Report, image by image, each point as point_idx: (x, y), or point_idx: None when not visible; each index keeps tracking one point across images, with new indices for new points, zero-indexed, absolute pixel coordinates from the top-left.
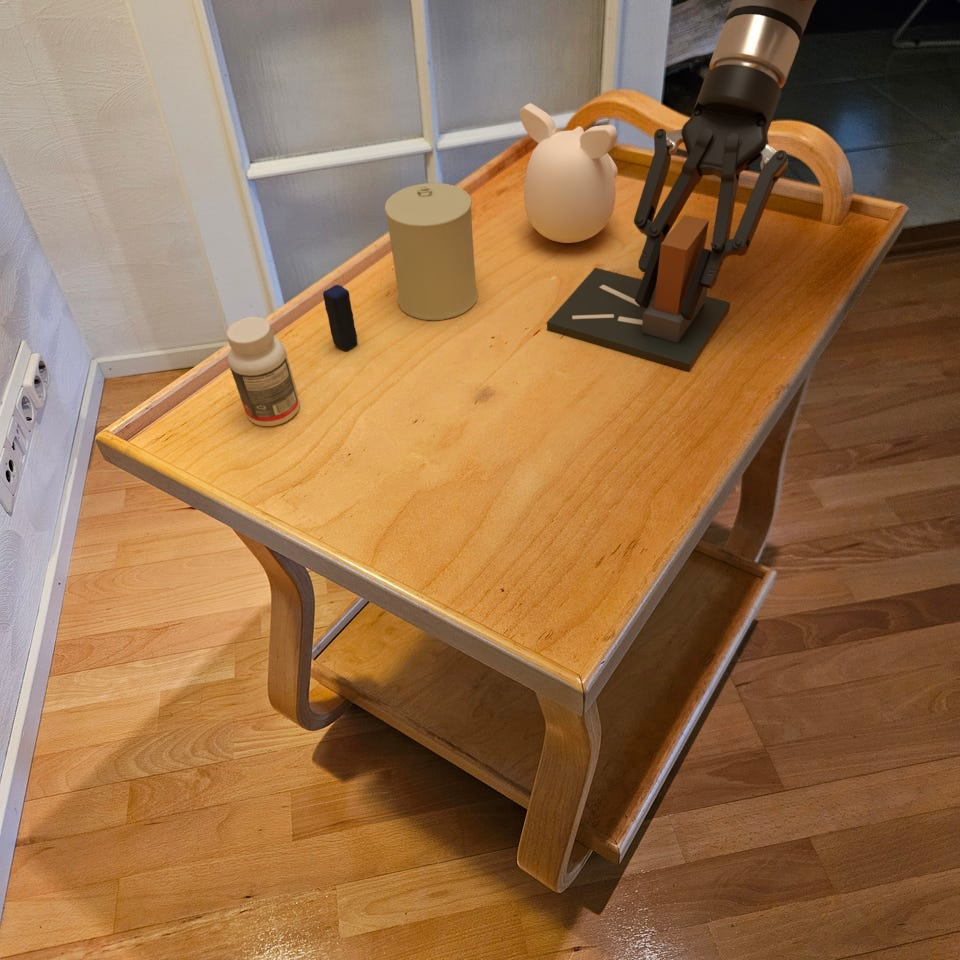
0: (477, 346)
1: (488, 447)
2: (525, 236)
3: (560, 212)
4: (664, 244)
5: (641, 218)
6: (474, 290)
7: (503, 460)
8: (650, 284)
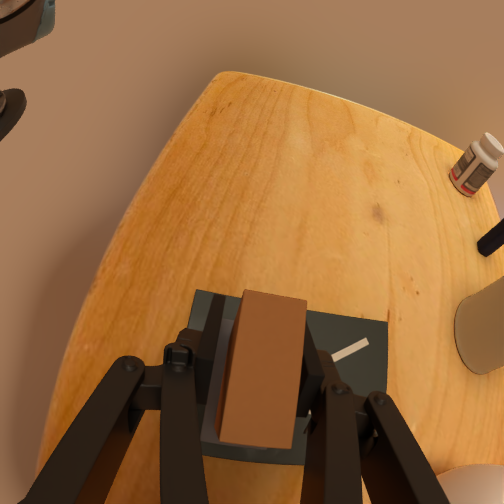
0: (420, 275)
1: (340, 164)
2: None
3: (465, 472)
4: (299, 299)
5: (380, 398)
6: (466, 339)
7: (324, 155)
8: None
